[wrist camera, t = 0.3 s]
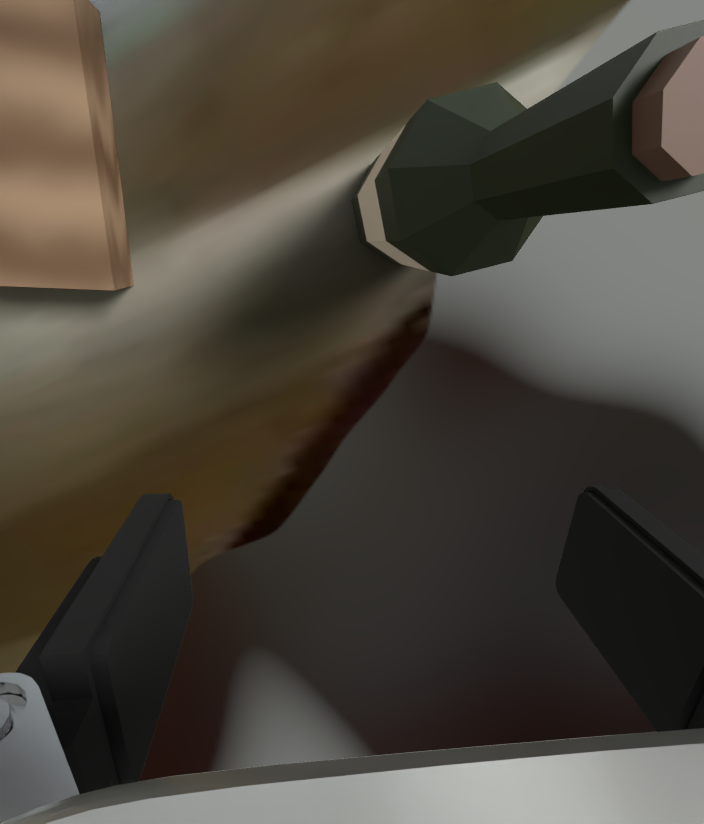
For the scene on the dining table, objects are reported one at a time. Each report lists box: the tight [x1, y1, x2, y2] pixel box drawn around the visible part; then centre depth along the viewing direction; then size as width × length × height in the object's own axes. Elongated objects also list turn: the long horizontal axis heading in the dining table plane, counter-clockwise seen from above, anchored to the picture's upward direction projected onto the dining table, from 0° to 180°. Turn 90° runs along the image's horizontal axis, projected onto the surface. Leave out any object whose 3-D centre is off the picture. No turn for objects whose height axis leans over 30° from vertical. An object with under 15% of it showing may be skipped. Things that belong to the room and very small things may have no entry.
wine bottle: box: [352, 20, 704, 276], centre depth 22 cm, size 8×8×30 cm
